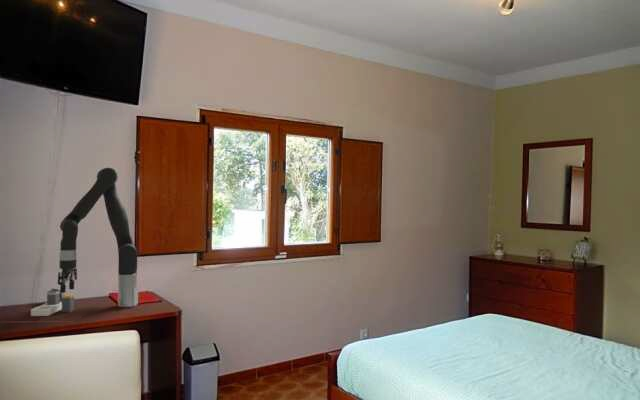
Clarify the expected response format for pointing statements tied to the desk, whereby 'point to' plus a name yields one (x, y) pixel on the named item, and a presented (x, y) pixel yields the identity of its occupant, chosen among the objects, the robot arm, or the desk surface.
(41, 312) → the power strip
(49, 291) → the electrical switch
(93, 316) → the desk surface
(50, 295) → the twin plug
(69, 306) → the plug
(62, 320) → the desk surface
